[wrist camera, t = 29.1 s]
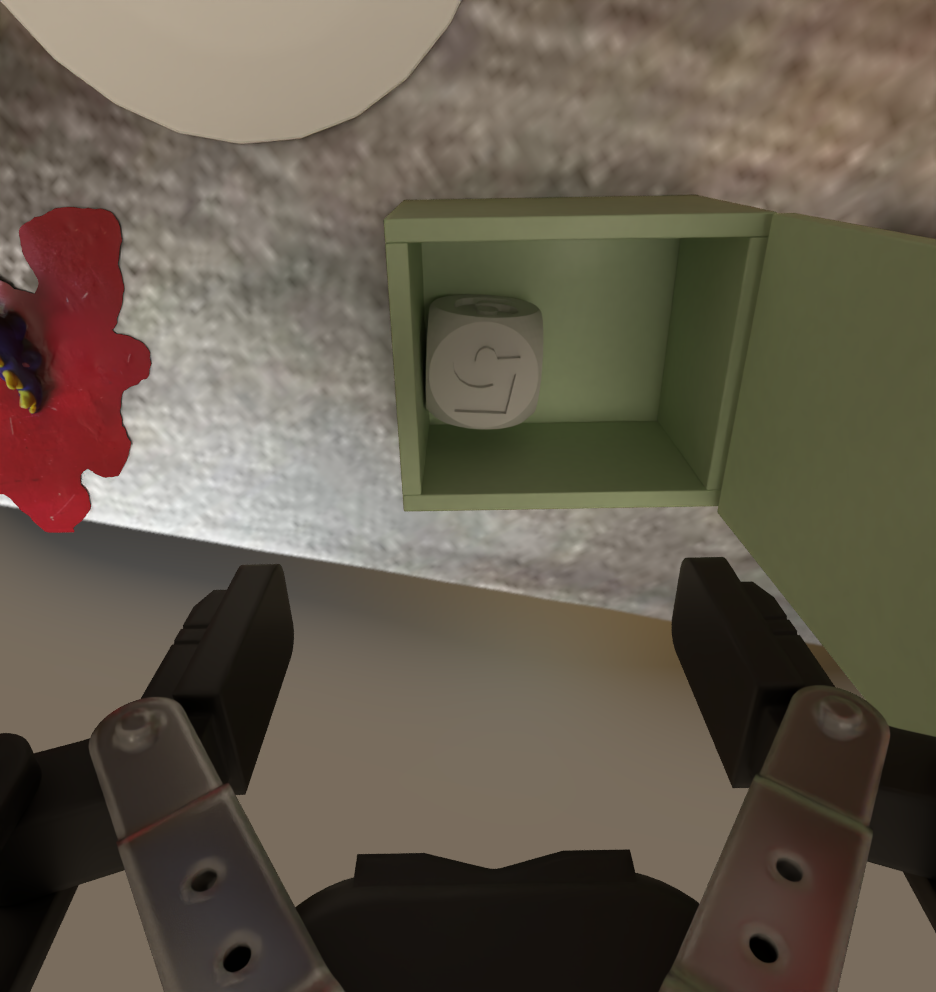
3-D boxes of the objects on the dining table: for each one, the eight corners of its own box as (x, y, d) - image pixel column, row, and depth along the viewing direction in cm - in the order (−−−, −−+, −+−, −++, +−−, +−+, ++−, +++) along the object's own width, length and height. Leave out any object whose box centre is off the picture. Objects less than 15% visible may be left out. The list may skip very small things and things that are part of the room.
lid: (963, 825, 15) (1174, 812, 15) (1235, 304, 10) (1558, 295, 10) (716, 512, 28) (832, 507, 28) (772, 213, 22) (915, 210, 22)
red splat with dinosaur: (206, 499, 41) (186, 548, 37) (-39, 510, 40) (-84, 561, 36) (116, 187, 31) (77, 211, 27) (-219, 192, 30) (-309, 218, 26)
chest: (416, 432, 36) (403, 512, 28) (403, 199, 30) (383, 218, 23) (666, 428, 36) (722, 506, 28) (697, 194, 30) (777, 211, 23)
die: (429, 391, 34) (424, 427, 30) (432, 291, 32) (427, 315, 27) (526, 395, 34) (535, 432, 30) (535, 296, 32) (547, 321, 27)
